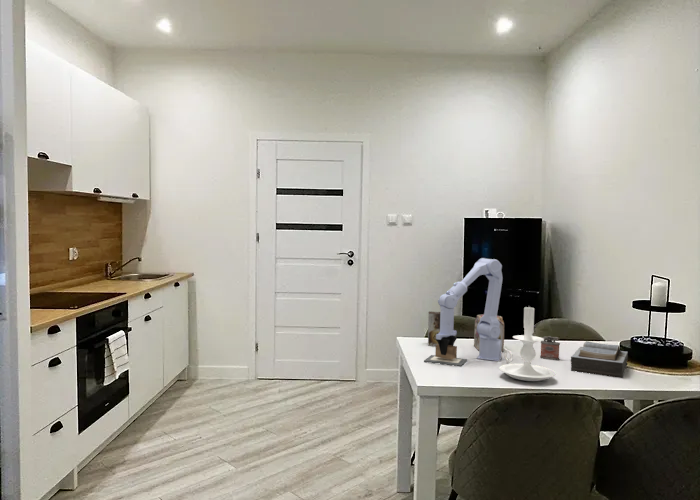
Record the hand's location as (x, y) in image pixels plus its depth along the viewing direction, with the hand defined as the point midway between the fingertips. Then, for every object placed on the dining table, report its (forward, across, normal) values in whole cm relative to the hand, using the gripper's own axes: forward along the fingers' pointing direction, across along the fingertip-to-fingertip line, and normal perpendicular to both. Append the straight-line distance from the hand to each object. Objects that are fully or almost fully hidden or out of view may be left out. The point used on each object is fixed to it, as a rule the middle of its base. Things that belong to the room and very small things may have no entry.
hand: (446, 353), depth 232 cm
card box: (+1, 0, 0) cm, 1 cm away
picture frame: (+3, 0, 0) cm, 3 cm away
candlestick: (+3, -1, -34) cm, 35 cm away
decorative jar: (+3, +37, -2) cm, 37 cm away
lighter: (+3, +37, -31) cm, 49 cm away
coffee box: (+3, +27, +20) cm, 33 cm away
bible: (+4, +35, -53) cm, 64 cm away
